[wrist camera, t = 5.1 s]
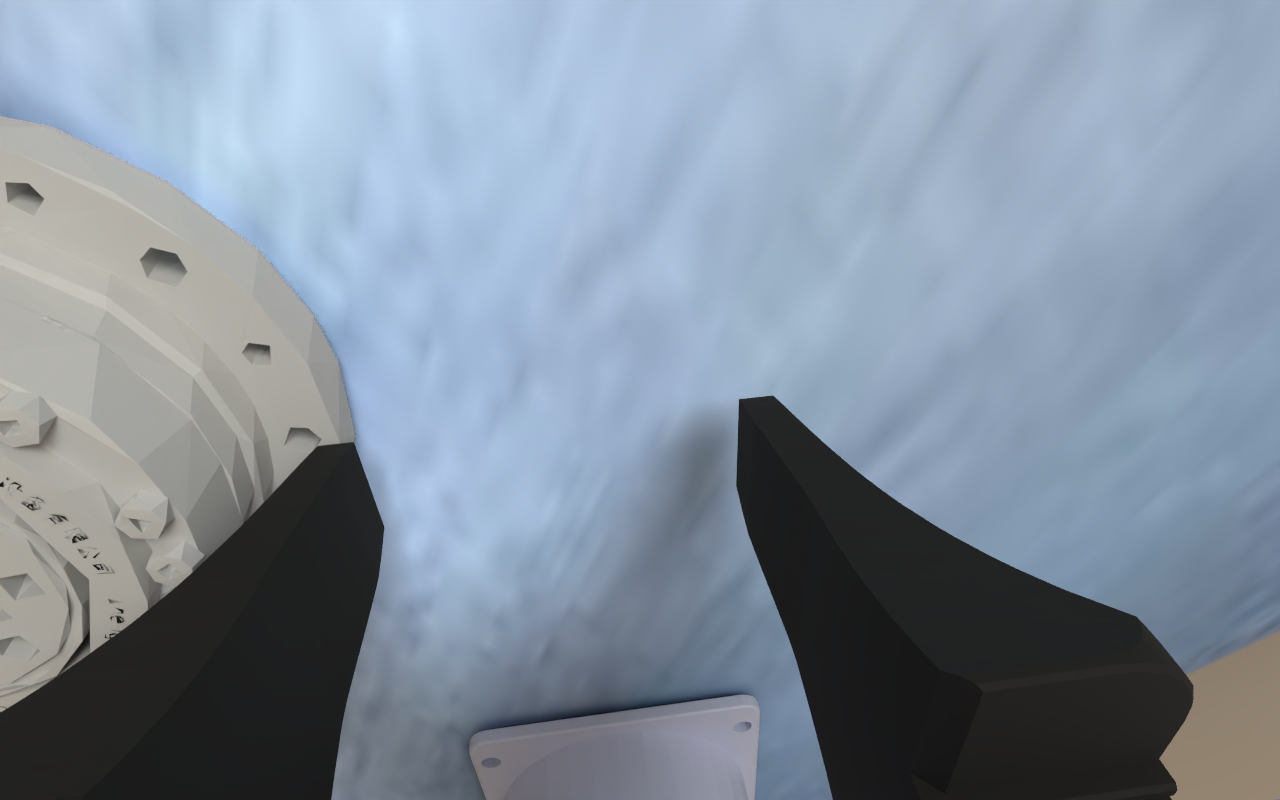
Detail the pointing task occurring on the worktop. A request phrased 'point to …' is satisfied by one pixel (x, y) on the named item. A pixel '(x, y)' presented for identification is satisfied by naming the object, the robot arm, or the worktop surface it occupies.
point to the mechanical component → (132, 395)
